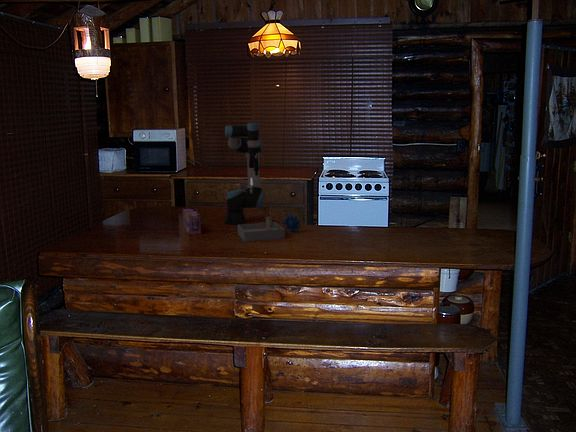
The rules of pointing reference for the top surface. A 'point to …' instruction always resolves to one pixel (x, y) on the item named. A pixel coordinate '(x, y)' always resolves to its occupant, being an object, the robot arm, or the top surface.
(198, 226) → the gum box
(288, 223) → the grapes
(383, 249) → the top surface
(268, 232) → the box
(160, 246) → the top surface
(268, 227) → the peg
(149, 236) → the top surface
